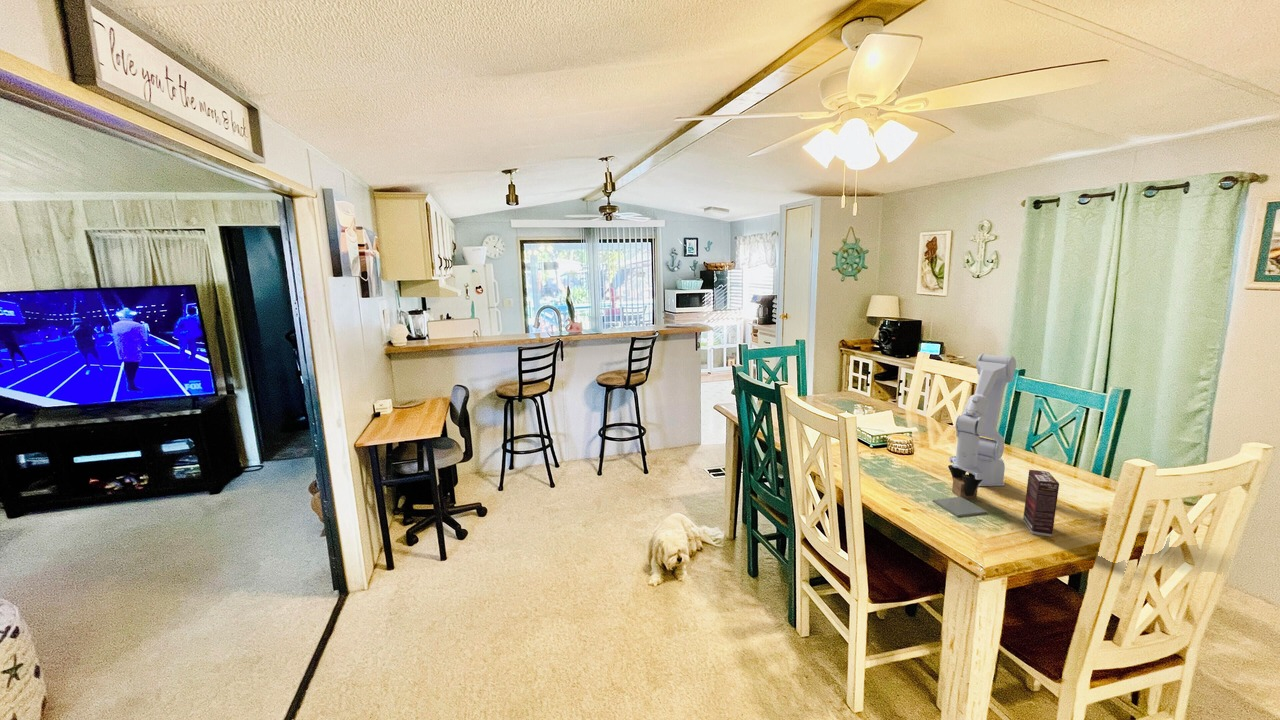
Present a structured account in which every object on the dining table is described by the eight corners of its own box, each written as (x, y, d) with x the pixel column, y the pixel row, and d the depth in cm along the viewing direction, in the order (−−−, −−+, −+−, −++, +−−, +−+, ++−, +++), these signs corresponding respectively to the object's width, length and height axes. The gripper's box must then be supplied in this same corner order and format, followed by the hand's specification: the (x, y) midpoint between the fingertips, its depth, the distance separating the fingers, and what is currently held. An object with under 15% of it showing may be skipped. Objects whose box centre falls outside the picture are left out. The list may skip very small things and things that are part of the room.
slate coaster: (961, 498, 159) (961, 496, 159) (986, 513, 149) (987, 511, 149) (932, 501, 157) (933, 499, 157) (957, 516, 148) (957, 514, 148)
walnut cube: (968, 491, 163) (969, 477, 162) (976, 498, 158) (978, 484, 157) (951, 491, 164) (953, 477, 163) (960, 498, 159) (961, 484, 158)
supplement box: (1053, 537, 135) (1060, 483, 132) (1031, 534, 137) (1038, 481, 134) (1042, 522, 143) (1049, 471, 140) (1022, 519, 145) (1028, 468, 142)
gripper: (941, 444, 165) (938, 481, 168) (968, 460, 151) (964, 501, 154) (963, 443, 165) (959, 481, 168) (992, 460, 151) (987, 501, 153)
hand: (963, 491), depth 161 cm, fingers open, 5 cm apart
